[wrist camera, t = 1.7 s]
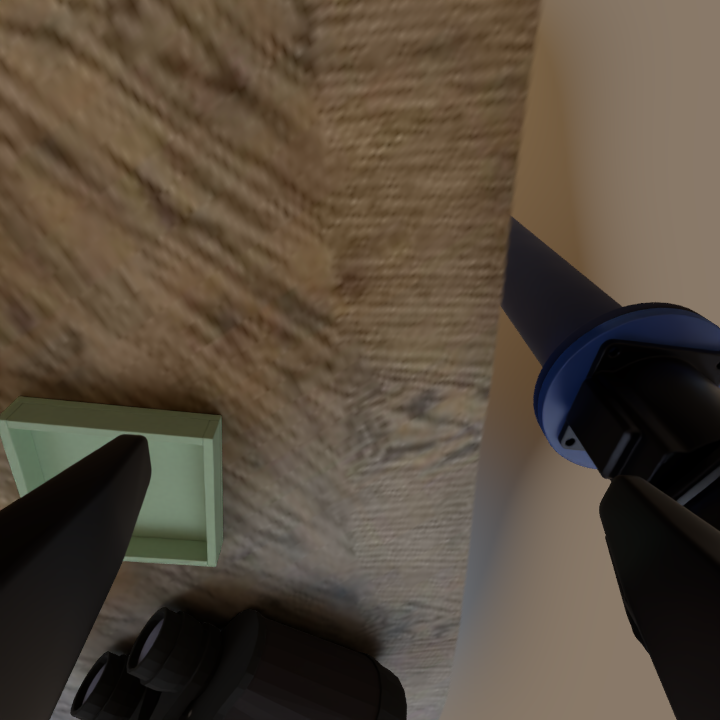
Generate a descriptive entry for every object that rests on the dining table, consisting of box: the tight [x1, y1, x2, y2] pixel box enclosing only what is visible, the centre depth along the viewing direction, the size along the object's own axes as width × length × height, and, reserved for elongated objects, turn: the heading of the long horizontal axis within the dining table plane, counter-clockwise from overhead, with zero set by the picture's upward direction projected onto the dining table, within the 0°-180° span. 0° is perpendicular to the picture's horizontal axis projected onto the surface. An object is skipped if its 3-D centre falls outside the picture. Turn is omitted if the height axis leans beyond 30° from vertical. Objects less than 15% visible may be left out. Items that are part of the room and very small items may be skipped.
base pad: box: [0, 396, 223, 567], centre depth 25 cm, size 10×10×2 cm
